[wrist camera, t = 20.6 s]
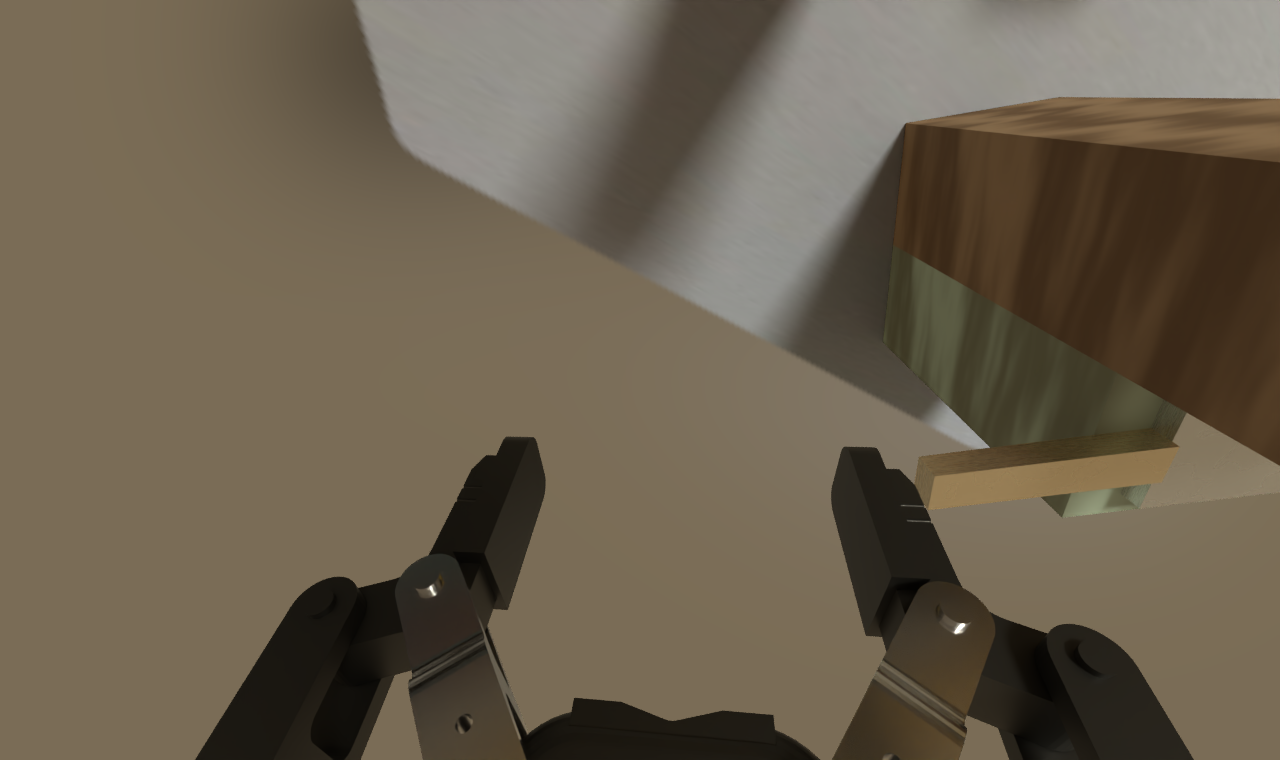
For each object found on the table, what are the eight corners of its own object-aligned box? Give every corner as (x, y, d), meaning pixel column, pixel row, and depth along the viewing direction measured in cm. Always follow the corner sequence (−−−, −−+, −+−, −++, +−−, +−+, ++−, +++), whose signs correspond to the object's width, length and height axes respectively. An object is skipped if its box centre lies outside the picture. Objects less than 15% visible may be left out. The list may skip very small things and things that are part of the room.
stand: (882, 342, 50) (1195, 648, 22) (905, 123, 40) (1519, 187, 12) (1004, 324, 49) (1483, 619, 22) (1059, 97, 39) (2073, 103, 12)
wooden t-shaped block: (908, 518, 29) (922, 539, 28) (925, 422, 26) (941, 441, 24) (1268, 476, 28) (1301, 496, 27) (1336, 369, 24) (1379, 385, 23)
